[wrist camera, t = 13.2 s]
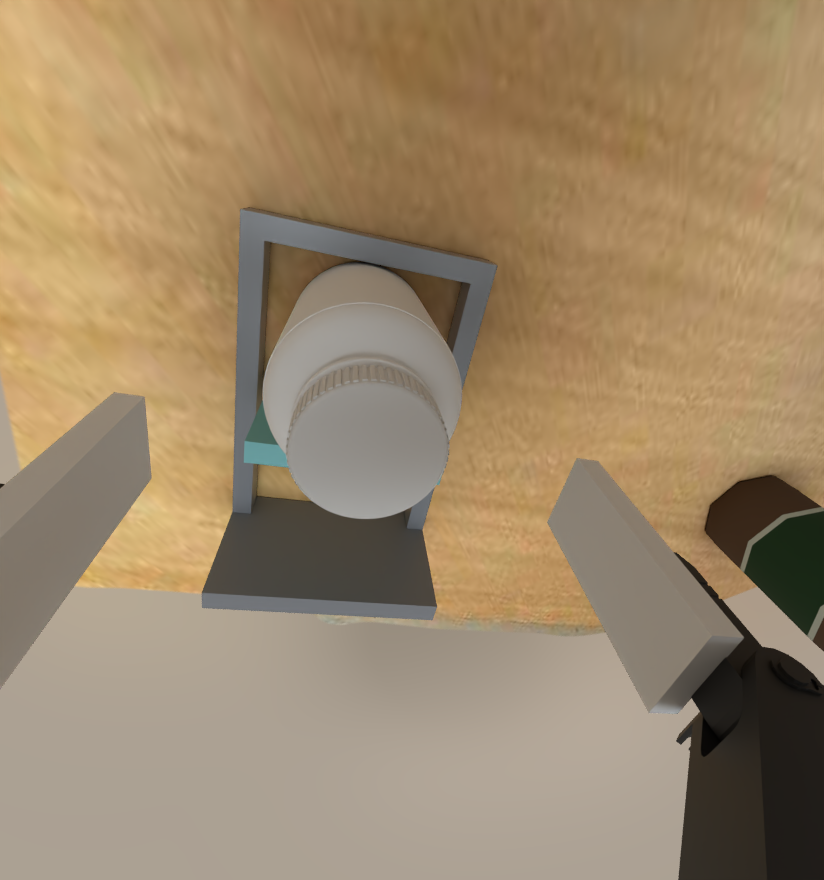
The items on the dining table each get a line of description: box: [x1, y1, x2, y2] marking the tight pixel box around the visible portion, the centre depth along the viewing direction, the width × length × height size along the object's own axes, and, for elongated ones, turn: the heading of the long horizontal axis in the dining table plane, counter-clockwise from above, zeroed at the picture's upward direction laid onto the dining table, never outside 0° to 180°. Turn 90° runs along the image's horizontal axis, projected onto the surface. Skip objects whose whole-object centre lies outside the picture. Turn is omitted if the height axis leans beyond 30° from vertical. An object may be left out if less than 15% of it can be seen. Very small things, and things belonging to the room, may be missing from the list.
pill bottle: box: [263, 262, 462, 519], centre depth 21 cm, size 8×8×15 cm
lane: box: [202, 207, 497, 620], centre depth 25 cm, size 13×20×9 cm
